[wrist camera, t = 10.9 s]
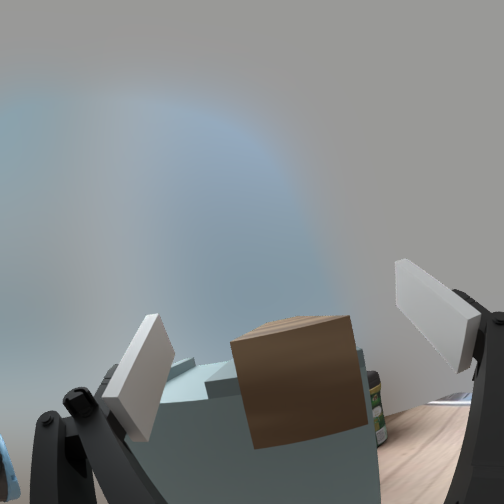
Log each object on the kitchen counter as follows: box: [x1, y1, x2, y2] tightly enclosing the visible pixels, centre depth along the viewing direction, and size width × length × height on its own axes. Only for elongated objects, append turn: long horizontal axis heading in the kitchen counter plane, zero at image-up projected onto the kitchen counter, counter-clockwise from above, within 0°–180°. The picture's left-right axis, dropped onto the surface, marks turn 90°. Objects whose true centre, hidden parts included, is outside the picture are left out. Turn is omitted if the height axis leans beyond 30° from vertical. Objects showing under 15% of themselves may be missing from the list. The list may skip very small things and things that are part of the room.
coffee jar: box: [366, 371, 387, 447], centre depth 57 cm, size 10×8×19 cm
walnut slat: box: [230, 315, 368, 450], centre depth 23 cm, size 29×4×4 cm, turn 175°
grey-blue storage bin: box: [124, 347, 381, 504], centre depth 24 cm, size 18×20×31 cm
